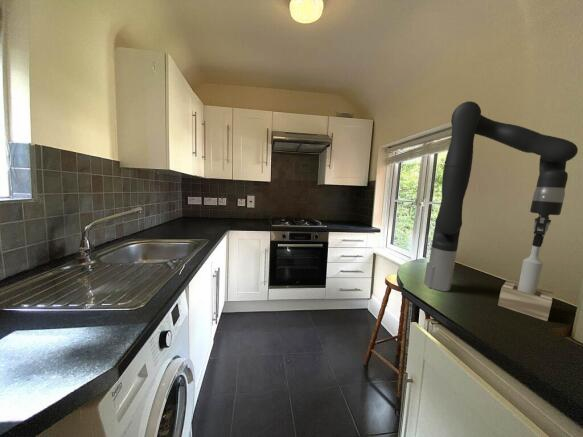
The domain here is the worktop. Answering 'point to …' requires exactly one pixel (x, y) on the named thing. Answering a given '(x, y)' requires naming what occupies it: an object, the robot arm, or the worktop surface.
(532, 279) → the bottle
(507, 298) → the socket holder
